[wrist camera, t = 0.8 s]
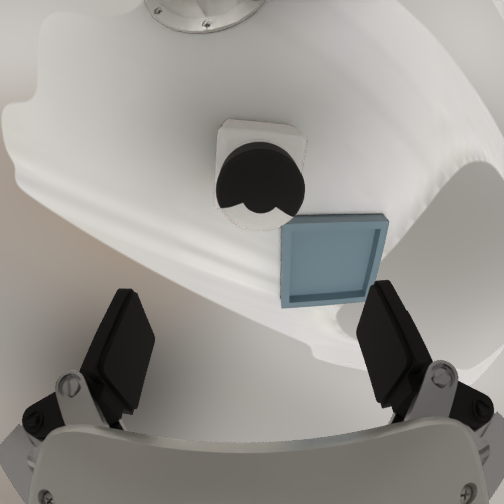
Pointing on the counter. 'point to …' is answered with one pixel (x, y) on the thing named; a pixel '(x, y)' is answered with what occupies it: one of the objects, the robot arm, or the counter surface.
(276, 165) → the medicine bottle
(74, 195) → the counter surface
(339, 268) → the tray
